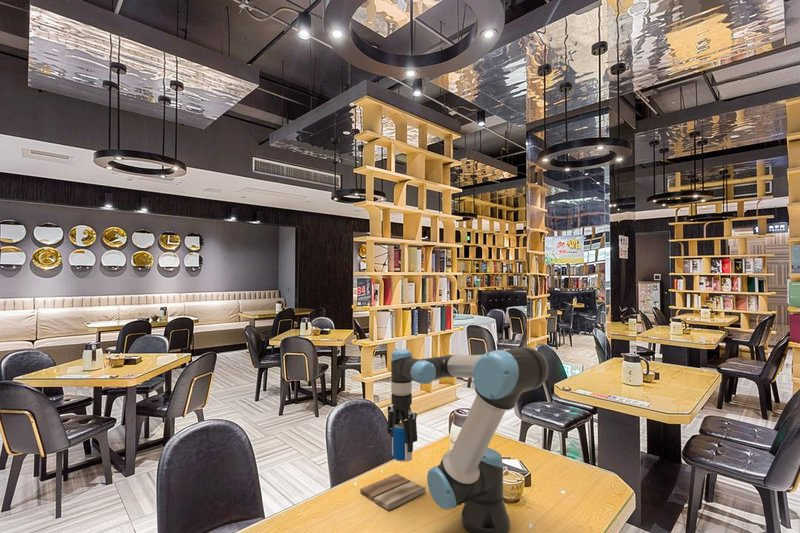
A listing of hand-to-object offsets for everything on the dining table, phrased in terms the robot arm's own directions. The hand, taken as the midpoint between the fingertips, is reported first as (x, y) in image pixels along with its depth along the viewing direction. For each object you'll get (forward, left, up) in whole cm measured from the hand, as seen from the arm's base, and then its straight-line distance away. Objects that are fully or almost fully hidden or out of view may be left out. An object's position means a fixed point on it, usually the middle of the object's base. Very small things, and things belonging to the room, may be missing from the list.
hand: (401, 457), depth 142 cm
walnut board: (+9, 0, -15) cm, 17 cm away
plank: (+1, 0, -14) cm, 14 cm away
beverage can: (0, 0, -1) cm, 1 cm away
